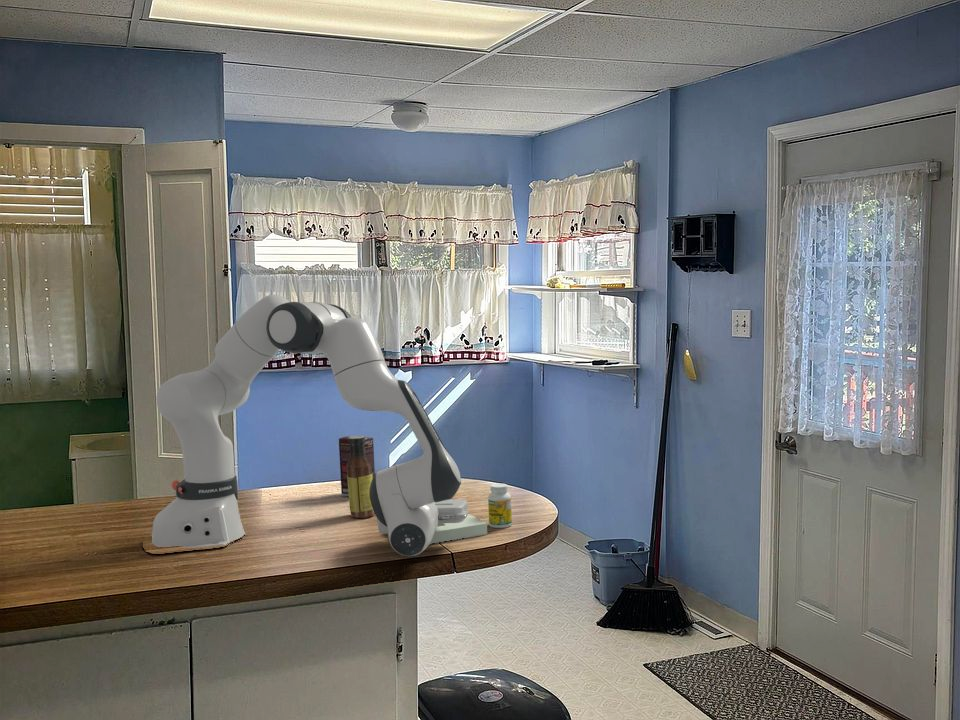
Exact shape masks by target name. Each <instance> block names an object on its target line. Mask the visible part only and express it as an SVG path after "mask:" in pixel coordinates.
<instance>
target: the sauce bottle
mask: <svg viewBox="0 0 960 720" xmlns="http://www.w3.org/2000/svg"><path fill="white" fill-rule="evenodd" d="M365 437H366V436H364V435H352V437H349V438H348V441H349V444H350V458H349V460H348V462H347V481H348V493H349V497H348V505H349V511H350V515H351V517H352V518H354V517H355V519H366V518H370V517H373V516H374V515H375V513H374V510H373V508H372V505H371V501H370V496H369V489H370V485H371V481H372V479H373V476H372V469H371V463H370V461H369V459H368V457H367V455H366V451H365Z"/></svg>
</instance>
